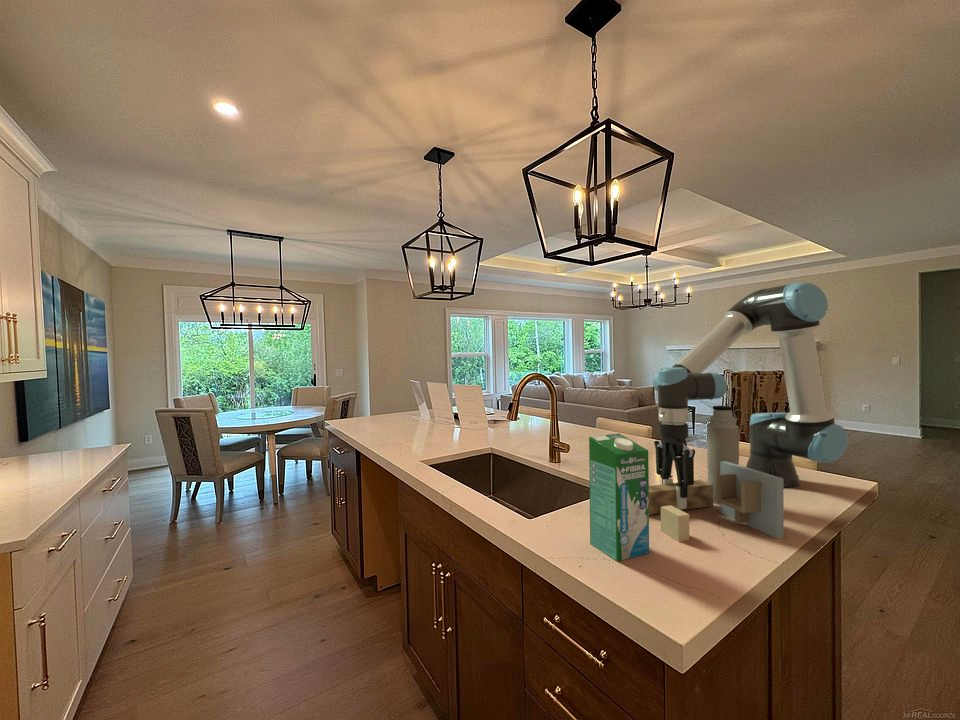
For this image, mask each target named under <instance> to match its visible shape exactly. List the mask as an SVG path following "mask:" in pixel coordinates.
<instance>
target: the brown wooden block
mask: <svg viewBox="0 0 960 720" xmlns="http://www.w3.org/2000/svg"><path fill="white" fill-rule="evenodd" d="M676 484H678V482H673V483H670V484H662V483H661V484H656V485H649V516H650V515H657V514H661V507H662V506H670V505H671V506H673V507H675V508H676ZM687 489H688V492H687V493H688V497H687V508H686V509H679V510H681V511H684V510H691V509H700V508H706V507H714V503H713V484H710V483H708V481H705V480H702V479H697V480H695V479H694V485H689V486H688V487H687Z"/></svg>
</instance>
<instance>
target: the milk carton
mask: <svg viewBox="0 0 960 720" xmlns="http://www.w3.org/2000/svg"><path fill="white" fill-rule="evenodd" d="M588 444H589V445H588V446H589V447H588V449H589V450H588V451H589V452H588V454H589V455H588V458H589V461H588V462H589V463H588V464H589V468H588V469H589V534H590V535H589V536H590V537H589V544H590V545H592V546H594V548H597V549H598V550H599V551H601V552H602V553H604V554H605V555H606V556H608V557H610V558H611V559H613V560H615V561H616V562H621V561H624V560H629V559H632V558H635V557H638V556H643V555H645V554H649V553H650V515H649V486H650V484H649V480H650V479H649V478H650V477H649V450H648V449H647V448H645V447H644V446H641V445H639V443H636V442H635V441H633V440H632V439H630V438H628V437H626V436H625V435H623V434H621V433H611V434H603V435H601V434H600V435H591V436H589V437H588Z"/></svg>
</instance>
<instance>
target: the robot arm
mask: <svg viewBox="0 0 960 720" xmlns="http://www.w3.org/2000/svg"><path fill="white" fill-rule="evenodd" d="M828 309H829V301H828V299H827V296H826V293H825V292H824V290H823V289H822V288H821V287H819V286H818V285H816V284H815V283H812V282H804V281H803V282H793V283H789V284H784V285H783V284H782V285H778V286H773V287H768V288H761V289H759V290H755V291H753V292H752V293H749V294H747V295H746V296H745V297H743V298H742V299H741V300H738V302H736V303H735V304H734V305H733V306H732V307H731V308H729V309H728V310H727V311H726V312H725V313H724V314H723V317H722V319H721V321H720V322H719V323H718V324H717V325H716V326H715V327H713V329H712V330H710V331H709V332H708V333H707V334H706V335H704V337H702V339H700V340H699V341H698V342H697V343H696V344H695V345H694V346H693V347H692V348H691V349H689V350H688V352H687V353H686V354H684V356H682V357H681V358H680V359H679V360H677V362H676V363H675V364H674V365H673V366H671V367H661V368H659V369H658V371H657V372H656V373H655V374H654V376H653V379H652V385H653V388H654V390H655V391H656V392H657V403H658V404H657V405H658V409H657V410H658V421H659V422H658V435H659V436H660V437H661V438H660V440H654V441H653V445H654V448H655V471H656V472H655V473H656V474H657V475H658V476H660V478H661V485H662V484H670V483H674V481H673V477H674V476H673V475H672V468H673V463H674V467H675V468H674V469H675V473H676V478H677V479H676V480H677V483H678V484H676V508H677V509H686V508H687V497H688V493H687V492H688V489H687V487H688V486H689V485H694V481H695V473H694V472H695V470H694V469H695V466H694V465H695V464H694V463H695V455H696V449H695V448H692V449H691V448H689V447H688V444H687V442H686V439H687V438H688V437H689V424H688V422H689V401H701V400H703V401H704V400H711V401H712V400H715V399H717V400H718V399H720V398H723V397H724V396H725V395H726V393H727V390H728V384H727V380H726V378H725V376H723V375H722V374H720V373H717V372H704V371H706V370H707V369H708V368H709V367H710V366H711V365H712V364H713V363H714V362H715V361H716V360H717V359H719V358H720V357H721V356H722V355H723V354H724V353H725V352H726V351H727V350H729V348H730V347H731V346H732V345H734V344H735V343H736V342H737V341H738V340H739V339H740V338H741V337H742V336H743V335H744V336H745V335H749V334H750V333H751V332H752V331H753V330H754V329H757V328H758V327H762V326H763V327H764V326H768V325H769V326H770V330H771V333H772V334H774V335H775V336H777V337H778V342H779V349H780V354H781V361H782V362H781V363H782V368H783V375H784V380H785V381H784V382H785V387H786V394H787V399H788V405H789V412H758V413H757V412H755V413H752V414H751V415H750V418H749V419H750V420H749V452H750V453H749V458H748V460H747V463H746V466H745V467H747V468H750V469H754V470H757V471H760V472H764V473H767V474H770V475H774V476H777V477H780V478H783V488H792V487H794V488H795V487H797V486H799V485H800V477H799V475H798V473H797V470H796V467H795V464H794V462H793V461H794V460H793V456H794V457H798V458H801V459H802V458H803V459H806V460H810V461H811V462H819V463H825V464H827V463H833V462H835V461H837V460H838V459H840V458H841V457H842V456H843V455H844V453H845V451H846V450H847V447H848V442H849V436H848V432H847V430H846V429H845V428H844V427H843V426H841V425H840V424H836V423H835V418H834V414H832V413H831V412H829V411H828V410H827V409H826V400H825V395H824V387H823V381H822V375H821V369H820V363H819V362H820V360H819V356H818V349H817V342H816V337H815V336H816V335H815V332H816V330H818V328H820V326H821V324H820V320H822V319H823V318H825V316H826V315H827V311H828ZM686 510H687V509H686Z"/></svg>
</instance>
